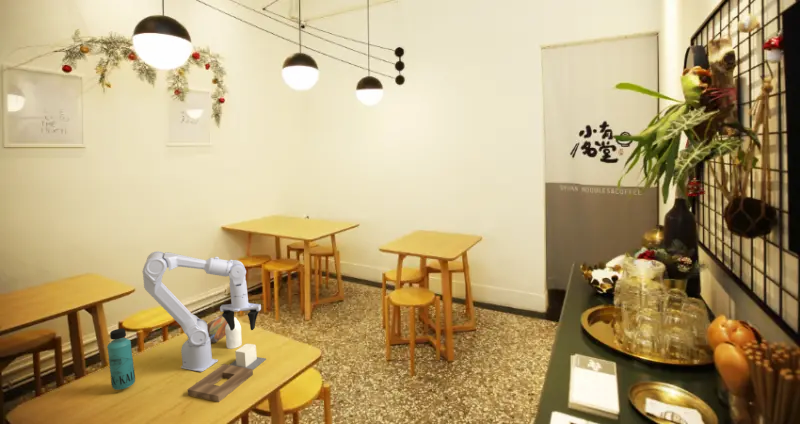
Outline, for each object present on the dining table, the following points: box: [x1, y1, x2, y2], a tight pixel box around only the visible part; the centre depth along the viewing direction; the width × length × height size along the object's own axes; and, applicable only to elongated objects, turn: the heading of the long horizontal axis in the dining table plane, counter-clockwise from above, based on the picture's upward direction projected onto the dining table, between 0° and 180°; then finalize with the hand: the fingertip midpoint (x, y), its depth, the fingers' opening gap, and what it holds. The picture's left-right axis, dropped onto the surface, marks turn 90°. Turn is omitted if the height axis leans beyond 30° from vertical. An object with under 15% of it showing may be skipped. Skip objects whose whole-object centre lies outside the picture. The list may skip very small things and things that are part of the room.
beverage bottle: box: [107, 328, 136, 391], centre depth 132 cm, size 6×7×20 cm
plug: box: [234, 343, 258, 367], centre depth 147 cm, size 4×6×6 cm, turn 162°
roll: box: [225, 316, 243, 350], centre depth 161 cm, size 6×12×6 cm
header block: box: [186, 363, 254, 403], centre depth 134 cm, size 12×16×2 cm
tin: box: [207, 314, 228, 344], centre depth 168 cm, size 15×3×8 cm, turn 168°
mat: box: [229, 356, 267, 370], centre depth 148 cm, size 10×8×1 cm
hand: (242, 329), depth 152 cm, fingers open, 7 cm apart
